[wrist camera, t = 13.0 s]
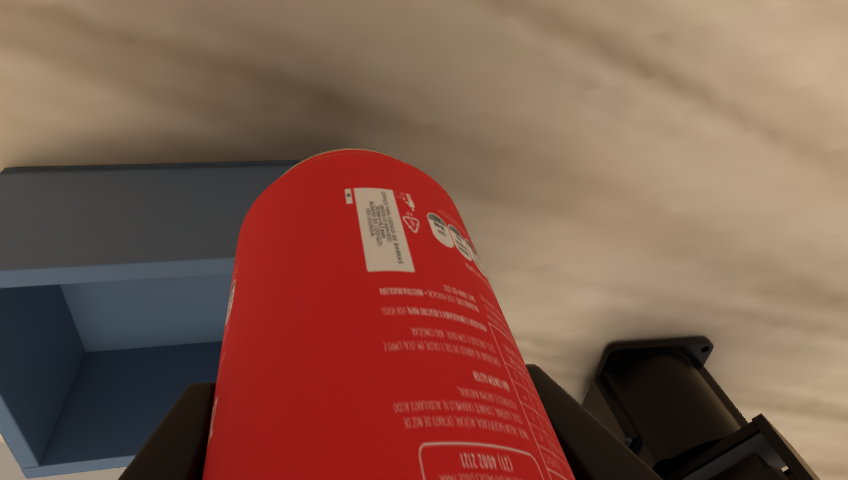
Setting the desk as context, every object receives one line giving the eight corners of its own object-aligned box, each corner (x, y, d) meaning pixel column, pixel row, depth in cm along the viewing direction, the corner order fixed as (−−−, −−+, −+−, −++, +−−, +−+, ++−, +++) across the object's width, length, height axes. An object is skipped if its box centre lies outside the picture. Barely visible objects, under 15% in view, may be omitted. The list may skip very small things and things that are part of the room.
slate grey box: (373, 249, 17) (371, 437, 22) (355, 158, 21) (357, 330, 27) (-94, 276, 14) (26, 479, 20) (4, 167, 19) (78, 353, 24)
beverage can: (472, 272, 15) (764, 989, 6) (293, 331, 15) (285, 1142, 6) (424, 100, 12) (879, 1022, 3) (200, 174, 12) (-145, 1347, 3)
